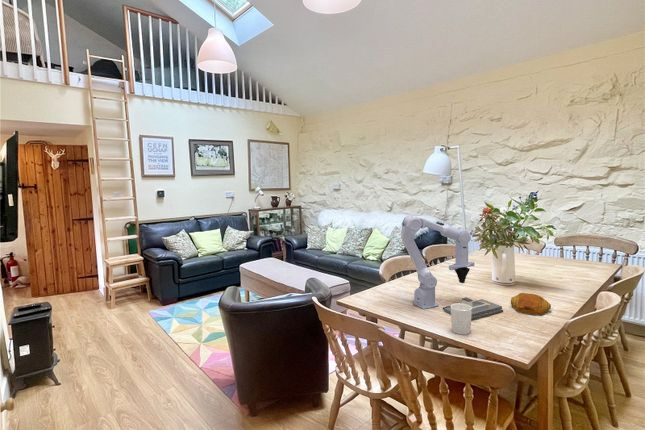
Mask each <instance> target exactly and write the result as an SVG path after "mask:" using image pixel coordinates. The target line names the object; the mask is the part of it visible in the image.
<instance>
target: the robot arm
mask: <svg viewBox="0 0 645 430" xmlns="http://www.w3.org/2000/svg"><path fill="white" fill-rule="evenodd" d="M426 228H427V229H431V230H434V231H436V232H439V233H440V235H441V236H443V237H446V238H448V239H451V240H454V241H455V263H453V264H451V265H449V266H448V270H449V271H454V272H455V273H456V276H457V278H458V281H459V283H460V284H465V283H466V278H467V276H468V273H469V272H470V271H471V269H470V267H475V266H476V265H475V261H469V243H470V241H471V238H472V236H471V234H470V233H469V231H466V230H464V229H461V228H460V227H456V226H455V227H454V226H453V225H452V224H450V223H446V224H443V225H441V224H438V223H437V222H434V221H431V220H429V219H426V218H423V217H418V216H415V217H414V216H413V215H407V216H405V217H404V218H403V219H402V222H401V235H400V238H401V241H402V242H403V244H404V247H405V248H406V250H407V253H408V255H409V256H410V259H411V261H412V263H413V265H414V267H415V269H416V274H417V280H418V282H419V287H418V288H416V289H414V297H413V298H414V299H413V300H414V301H413V305H415V306H417V307H419V308H421V309H423V310H427V309H429V308H434V307H439V306H440V303H437V302H436V286H437V284H438V280H437V277H436V276H434V275H433V274H432V272H431V271H430V269H429V268H428V266H427V264H426V262H425V259H424V258H423V255H422V253H421V252H420V250H419V248H418V246H417V244H416V241H415V239H414V237H416V234H417V233H418V232H419V231H420V229H426Z"/></svg>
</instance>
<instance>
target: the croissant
mask: <svg viewBox="0 0 645 430" xmlns="http://www.w3.org/2000/svg"><path fill="white" fill-rule="evenodd" d="M510 306H511V308H513V309H515V311H516V312H519V313H522V314H527V315H531V316H535V315H536V316H538V315H539V316H544V315H545V314H546V313H548V312H549V311H550V310H551V307H552V306H551V304H550V302H549V301H547V299H545V298H544V297H543V296H540V295H539V294H534V293H529V292H528V293H525V292H520V293H518V294H517V295H515V296H513V297H511V298H510Z"/></svg>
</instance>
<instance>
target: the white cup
mask: <svg viewBox="0 0 645 430" xmlns="http://www.w3.org/2000/svg"><path fill="white" fill-rule="evenodd" d="M460 303H461V302H460ZM460 303H453V304H451V305H450V306H451V315H450V319H451V320H450V321H451V329H452V332H453V333H455V334H457V335H461V336H462V335H465V336H466V335H469V334H470V333H471V326H472V321H471V317H472V307H471V306H469V305H466V304H460ZM472 318H473V317H472Z"/></svg>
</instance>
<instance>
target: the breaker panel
mask: <svg viewBox="0 0 645 430" xmlns="http://www.w3.org/2000/svg"><path fill="white" fill-rule="evenodd" d="M472 300H473V301H472V317H471V318H473V317H477V316H480V315H484V314H488V313H491V312H495V311H499V310H503V305H500V304H497V303H494V302H492V301H488V300H486V299H484V298H482V299H478V300H477V299H472ZM460 304H462V302H460ZM443 312H444V313H446V314H448V315H450V316H451V307H448V308H444V310H443Z"/></svg>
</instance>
